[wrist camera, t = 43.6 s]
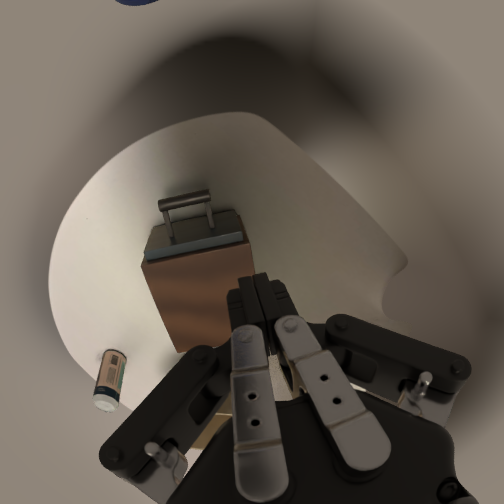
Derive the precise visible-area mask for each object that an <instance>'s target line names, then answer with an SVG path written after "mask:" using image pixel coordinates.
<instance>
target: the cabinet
mask: <svg viewBox="0 0 504 504" xmlns="http://www.w3.org/2000/svg"><path fill="white" fill-rule="evenodd" d="M237 219H238V222H239V224H240V227H241V230H242V235H243V241H239V242H237V243H233V244H228V245H223V246H219V247H214V248H209V249H204V250H199V251H195V252H190V253H185V254H180V255H176V256H171V257H166V258H162V259H153V260H149V261H147V260H146V258H145V255H144V258H143V261H142V264H141V268H142V271H143V274H144V276H145V279H146V281H147V284H148V286H149V289H150V291H151V294H152V296H153V299H154V301H155V304H156V306H157V308H158V311H159V313H160V316H161V318H162V320H163V322H164V325H165V327H166V329H167V331H168V334H169V336H170V338H171V340H172V342H173V344H174V347H175V349H176V351H177V353H181V352H187V351H188V350H190V349H191V348H193V347H195V346H198V345H208V346H211V347H216V346H221V345H223V344H224V343H226V342H227V341H228V340H229V338H230V336H231V325H230V319H229V313H228V306H227V300H226V296H227V293H228V291H229V290H231V289H236V288H239V285H238V280H237V278H241V277H246V276H251V277H252V275H255V271H254V264H253V258H252V252H251V246H250V242H249V239H248V237H247V234H246V231H245V229H244V226H243V223H242V221H241V218H240V215H237Z"/></svg>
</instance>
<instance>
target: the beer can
mask: <svg viewBox="0 0 504 504" xmlns="http://www.w3.org/2000/svg"><path fill="white" fill-rule="evenodd" d="M125 364H126V359H125V357H124V356H123V355H122V354H120V353H118V352H116V351H107V352H105V353H104V355H103V358H102V362H101V366H100V370H99V374H98V378H97V382H96V386H95V390H94V394H93V401H94V404H95V406H96V407H97V408H98V409H100V410H102V411H105V412H113V411H115V410H116V409H117V408H118V406H119V398H120V392H121V386H122V380H123V374H124V369H125Z"/></svg>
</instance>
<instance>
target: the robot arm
mask: <svg viewBox="0 0 504 504" xmlns="http://www.w3.org/2000/svg"><path fill="white" fill-rule="evenodd" d="M237 280H238V285H239V288H236V289H231V290H229V291H228V293H227V296H226V300H227V306H228V313H229V319H230V325H231V336H230V338H229V340H228V341H227V342H226V343H224V344H223V345H221V346H219V347H217V348H215V349H214V348H212V347H211V346H208V345H198V346H195V347H193V348H191V349H190V350H188V351H187V353H186V354H185V355H184V356H183V357H182V358H181V359H180V360H179V362H178V363H177V364H176V365H175V366H174V367H173V368H172V369H171V370H170V372H169V373H168V374H167V375H166V376H165V377H164V378H163V379H162V381H161V382H160V383H159V384H158V385H157V386H156V387H155V388H154V389H153V390H152V392H151V393H150V394H149V395H148V396H147V397H146V398H145V399H144V400H143V401H142V403H141V404H140V405H139V406H138V407H137V408H136V409H135V410H134V411H133V412H132V414H131V415H130V416H129V417H128V418H127V419H126V420H125V421H124V422H123V424H121V426H120V427H119V428H118V429H117V430H116V431H115V432H114V433H113V434H112V435H111V436H110V437H109V438H108V439H107V441H106V442H105V443H104V444H103V445H102V446H101V448H100V451H99V459H100V462H101V464H102V465H103V466H104V467H105V468H106V469H108V470H110V471H111V472H113V473H114V474H115V475H116V476H118V477H120V478H121V479H123V480H125V481H127V482H128V483H130V484H132V485H134V486H135V487H137V488H138V489H139V490H141V491H142V492H143V493H145V494H146V495H147V496H148V497H150V498H151V499H153V500H154V501H155V502H157V503H158V504H479V503H478V502H477V500H476V499H475V498H474V497H473V496H472V495H471V494H470V493H469V492H468V491H467V490H466V489H465V488H464V487H463V486H462V485H461V484H460V483H459V481H458V479H457V477H456V473H455V467H454V443H453V440H452V437H451V435H450V434H449V432H448V431H447V430H446V429H445V426H446V423H447V421H448V418H449V415H450V412H451V410H452V407H453V404H454V400H455V397H456V395H457V394H458V392H459V391H460V389H461V388H462V387H463V385H464V384H465V382H466V381H467V379H468V377H469V376H470V374H471V364H470V362H469V361H468V360H467V359H466V358H465V357H463V356H461V355H458V354H456V353H453V352H450V351H447V350H444V349H441V348H438V347H435V346H432V345H430V344H427V343H424V342H421V341H418V340H415V339H412V338H410V337H407V336H404V335H401V334H398V333H396V332H393V331H390V330H387V329H385V328H382V327H379V326H376V325H374V324H371V323H368V322H366V321H363V320H360V319H357V318H355V317H352V316H349V315H346V314H336V315H333V316H331V317H330V318H329V319H328V320H327V321H326V324H313V323H308V322H306V321H305V320H304V319H303V318H302V317H300V316H299V315H298V312H297V310H296V308H295V306H294V304H293V302H292V300H291V297H290V295H289V293H288V292H287V289H286V287H285V285H284V284H283V283H282V282H280V281H279V280H273V281H269V279H268V276H267V274H266V272H265V273H260V274H255V275H252V277H251V276H246V277H241V278H237ZM269 348H270V351H269ZM270 352H271V355H276V354H277V357H278V360H279V367H280V370H281V372H282V375H283V377H284V379H285V382H286V384H287V386H288V389H289V391H290V393H291V396H292V398H293V400H290V401H275V400H274V395H273V389H272V383H271V378H270V372H269V361H268V356H270ZM350 383H352V384H354V385H356V386H359V387H361V388H363V389H365V390H368V391H370V392H373V393H375V394H377V395H380V396H382V397H384V398H387V399H389V400H392V401H394V402H397V403H398V407H397V406H394V405H392V404H390V403H388V402H385V401H383V400H381V399H379V398H377V397H375V396H373V395H370V394H368V393H366V392H364V391H361V390H358V389H354V388H353V387H352V385H351V384H350ZM230 392H231V404H232V417H231V418H229V419H228V420H226V421H225V422H224V423H223V424H222V425H221V426H220V427H219V428H218V429H217V431H216V432H215V434H214V435H213V437H212V438H211V440H210V441H209V443H208V444H207V446H206V447H205V448H204V450H203V451H202V453H201V454H200V456H199V457H198V459H197V460H196V461H195V463H194V464H193V466H192V467H191V468H190V470H189V471H188V473H187V474H186V475H185V477H184V474H185V472H186V470H187V467H188V462H187V459H186V457H185V456H184V455H185V454H186V453H187V451H188V450H189V449H190V447H191V446H192V445H193V444H194V442H195V441H196V440H197V438H198V437H199V436H200V434H201V433H202V432H203V430H204V429H205V428H206V426H207V425H208V424H209V422H210V421H211V420H212V418H213V417H214V416H215V414H216V413H217V411H218V410H219V409H220V407H221V406H222V405H223V403H224V402H225V400H226V399H227V398H228V396H229V393H230ZM183 477H184V478H183Z"/></svg>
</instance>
